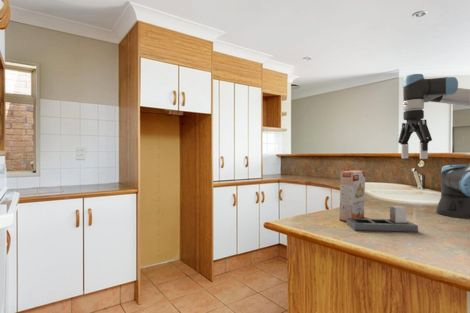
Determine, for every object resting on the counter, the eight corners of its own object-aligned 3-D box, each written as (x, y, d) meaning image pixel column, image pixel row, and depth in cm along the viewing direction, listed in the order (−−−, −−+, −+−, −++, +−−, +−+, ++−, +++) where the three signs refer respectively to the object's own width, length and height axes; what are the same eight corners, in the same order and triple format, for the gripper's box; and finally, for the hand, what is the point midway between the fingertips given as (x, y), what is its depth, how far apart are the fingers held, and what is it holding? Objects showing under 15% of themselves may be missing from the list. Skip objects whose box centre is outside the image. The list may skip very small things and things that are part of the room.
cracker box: (353, 223, 111) (353, 172, 110) (338, 220, 115) (339, 171, 115) (365, 217, 121) (365, 170, 120) (351, 215, 125) (352, 169, 125)
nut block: (400, 226, 104) (400, 205, 104) (406, 229, 100) (406, 207, 100) (389, 226, 105) (390, 205, 105) (395, 229, 101) (395, 207, 101)
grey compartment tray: (404, 225, 107) (404, 219, 107) (417, 232, 98) (417, 225, 98) (346, 224, 108) (346, 218, 108) (354, 230, 100) (354, 223, 99)
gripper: (390, 114, 132) (390, 158, 132) (422, 105, 107) (423, 159, 107) (405, 114, 131) (406, 158, 132) (442, 105, 107) (442, 158, 107)
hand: (413, 158), depth 119 cm, fingers open, 13 cm apart
